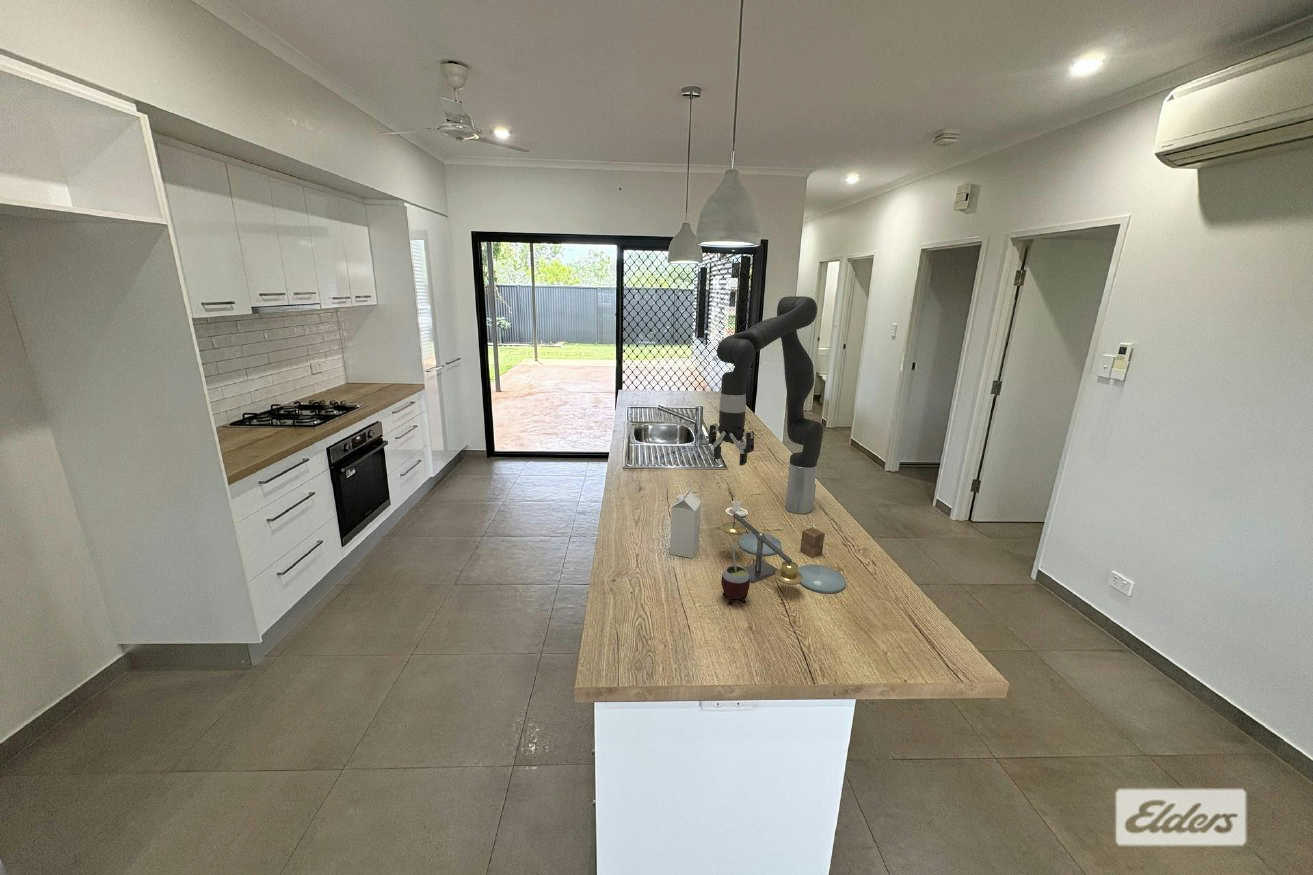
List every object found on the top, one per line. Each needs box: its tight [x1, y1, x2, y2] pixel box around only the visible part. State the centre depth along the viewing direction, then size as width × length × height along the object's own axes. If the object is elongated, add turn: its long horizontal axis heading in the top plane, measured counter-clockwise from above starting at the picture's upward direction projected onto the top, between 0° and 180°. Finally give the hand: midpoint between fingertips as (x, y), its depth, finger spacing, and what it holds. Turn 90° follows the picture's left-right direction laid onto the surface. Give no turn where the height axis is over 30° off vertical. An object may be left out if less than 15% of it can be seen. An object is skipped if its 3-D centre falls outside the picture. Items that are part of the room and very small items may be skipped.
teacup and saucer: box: [724, 500, 749, 517], centre depth 180 cm, size 9×8×4 cm
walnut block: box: [799, 526, 825, 559], centre depth 152 cm, size 4×4×7 cm
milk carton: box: [669, 487, 702, 559], centre depth 150 cm, size 7×7×19 cm
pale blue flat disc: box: [737, 532, 782, 557], centre depth 157 cm, size 13×13×1 cm
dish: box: [798, 563, 847, 595], centre depth 138 cm, size 13×13×1 cm
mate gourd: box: [720, 534, 751, 606], centre depth 127 cm, size 8×8×15 cm
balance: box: [720, 513, 803, 586], centre depth 139 cm, size 10×28×14 cm, turn 33°
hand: (729, 461), depth 152 cm, fingers open, 8 cm apart
